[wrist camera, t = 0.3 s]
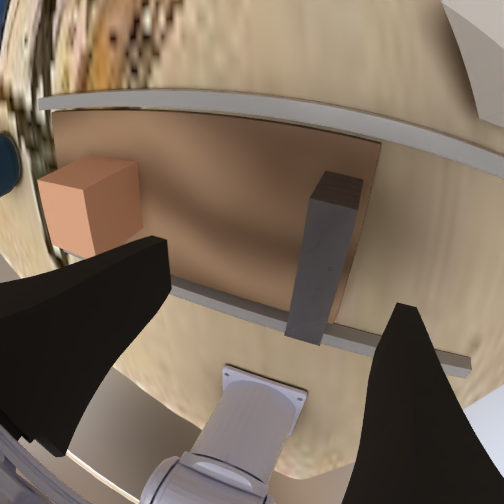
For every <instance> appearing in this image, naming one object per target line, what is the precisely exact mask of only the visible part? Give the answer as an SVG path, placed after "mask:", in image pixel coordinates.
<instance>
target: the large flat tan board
mask: <svg viewBox="0 0 504 504" xmlns="http://www.w3.org/2000/svg"><path fill="white" fill-rule="evenodd" d="M52 124H53V134H54V143H55V151H56V158H57V165H58V169H61V168H63V167H65V166H67V165H69V164H71V163H73V162H76V161H78V160H80V159H82V158H85V157H87V156H95V157H104V158H111V159H119V160H126V161H134V162H138V177H139V189H140V200H141V210H142V220H143V228H142V229H141V230H139V231H138V232H137V233H136V234H134V235H133V236H132V237H130V238H129V239H128V240H126V241H125V242H124V243H123V244H121V245H124V244H127V243H129V242H132V241H135V240H138V239H141V238H144V237H147V236H151V235H153V236H157V237H160V238H164V239H167V243H168V254H169V265H170V274H172V275H175V276H178V277H181V278H184V279H187V280H190V281H193V282H196V283H199V284H202V285H205V286H208V287H211V288H214V289H217V290H220V291H223V292H226V293H229V294H233V295H236V296H239V297H242V298H245V299H249V300H252V301H255V302H258V303H262V304H265V305H268V306H271V307H275V308H278V309H281V310H285V311H288V312H289V315H288V320H287V325H286V330H285V336H288V337H291V338H295V339H298V340H301V341H305V342H308V343H312V344H315V345H319V346H320V343H321V340H322V337H323V334H324V331H325V328H326V324H327V323H330V324H334V321H335V318H336V315H337V312H338V309H339V305H340V302H341V299H342V296H343V293H344V289H345V286H346V283H347V280H348V276H349V273H350V269H351V266H352V262H353V259H354V255H355V252H356V248H357V245H358V241H359V237H360V233H361V230H362V226H363V222H364V218H365V214H366V210H367V206H368V202H369V197H370V193H371V189H372V184H373V180H374V175H375V171H376V166H377V161H378V156H379V151H380V146H381V142H377V141H373V140H368V139H364V138H360V137H356V136H351V135H347V134H342V133H337V132H333V131H328V130H323V129H317V128H312V127H307V126H301V125H295V124H289V123H283V122H276V121H270V120H263V119H255V118H247V117H239V116H230V115H221V114H210V113H198V112H185V111H168V110H141V109H92V110H67V111H55V112H52ZM121 245H120V246H121Z"/></svg>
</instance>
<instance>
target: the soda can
mask: <svg viewBox="0 0 504 504" xmlns="http://www.w3.org/2000/svg"><path fill="white" fill-rule="evenodd" d="M20 173H21V165H20V158H19V154H18V151H17V148H16V146H15V144H14V142H13V140H12V139H11V138H10V137H9V136H6V135H2V134H0V197H2V196H3V195H5V194H7V193H9V192H10V191H11V190H12V189H13V188H14V186H15V184H16V183H17V181H18V180H19V177H20Z"/></svg>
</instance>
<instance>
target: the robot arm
mask: <svg viewBox="0 0 504 504" xmlns="http://www.w3.org/2000/svg"><path fill="white" fill-rule="evenodd" d="M171 290H172V285H171V275H170V265H169V254H168V243H167V239H164V238H160V237H157V236H153V235H151V236H147V237H144V238H141V239H138V240H135V241H132V242H129V243H127V244H124V245H121V246H119V247H116V248H113V249H111V250H108V251H106V252H103V253H101V254H98V255H95V256H93V257H90V258H87V259H85V260H82V261H79V262H76V263H74V264H71V265H68V266H65V267H62V268H59V269H56V270H53V271H50V272H46V273H43V274H39V275H36V276H32V277H28V278H23V279H19V280H13V281H9V282H4V283H0V504H53V503H52V502H51V501H50V500H49V498H50V499H51V500H52V501H53V502H55V503H56V504H92V503H90V502H89V501H88V500H86V499H85V498H83V497H82V496H81V495H79V494H78V493H77V492H75V491H74V490H72V489H71V488H70V487H68V486H67V485H66V484H65V483H64V482H62V481H61V480H60V479H59V478H57V477H56V476H55V475H54V474H53V473H51V472H50V471H49V470H48V469H47V468H46V467H44V466H43V465H42V464H41V463H40V462H39V461H38V460H37V459H35V458H34V457H33V456H32V455H31V454H30V453H29V452H28V451H27V450H26V449H25V448H23V446H22V445H20V444H19V443H18V440H19V438H20V437H21V436H23V438H24V439H26V440H27V441H28V442H29V443H31V442H32V441H33V440H34V439H35V440H36V441H37V442H38V443H40V444H41V445H42V446H43V447H44V448H45V449H46V450H48V451H49V452H50V453H51V454H52V455H54V456H55V457H62V456H65V454H66V452H67V449H68V446H69V444H70V441H71V439H72V437H73V434H74V432H75V430H76V428H77V425H78V424H79V421H80V419H81V417H82V416H83V413H84V412H85V410H86V408H87V406H88V404H89V402H90V400H91V399H92V397H93V395H94V394H95V392H96V390H97V389H98V387H99V385H100V384H101V382H102V381H103V379H104V378H105V376H106V375H107V373H108V371H109V370H110V368H111V367H112V366H113V364H114V363H115V362H116V360H117V359H118V358H119V357H120V355H121V354H122V353H123V352H124V351H125V350H126V348H127V347H128V346H129V345H130V344H131V343H132V341H133V340H134V339H135V338H136V337H137V336H138V334H139V333H140V332H141V331H142V330H143V329H144V327H145V326H146V325H147V324H148V323H149V322H150V320H151V319H152V318H153V317H154V316H155V314H156V313H157V312H158V310H159V309H160V307H161V306H162V304H163V303H164V301H165V300H166V298H167V296H168V295H169V293H170V292H171ZM306 398H307V392H305V391H303V390H300V389H297V388H293V387H290V386H287V385H284V384H281V383H278V382H274V381H271V380H268V379H265V378H262V377H259V376H256V375H253V374H251V373H248V372H245V371H242V370H239V369H236V368H234V367H231V366H228V365H225V366H224V367H223V369H222V397H221V398H220V400H219V402H218V404H217V405H216V407H215V409H214V411H213V413H212V414H211V416H210V418H209V420H208V421H207V423H206V425H205V427H204V428H203V430H202V432H201V434H200V436H199V437H198V439H197V440H196V442H195V444H194V446H193V447H192V449H191V451H190V452H187V451H185V452H184V453H183V455H182V457H181V458H179V457H177V456H173V457H171V458H168V459H165V460H164V461H162V462H161V463H160V464H159V466H158V467H157V468H156V469H155V471H154V472H153V473H152V475H151V476H150V478H149V480H148V482H147V483H146V485H145V488H144V489H143V492H142V495H141V498H140V503H139V504H276V503H275V501H274V497H273V496H272V495H267V492H268V489H269V487H270V486H269V485H267V484H268V482H269V479H270V477H271V475H272V473H273V470H274V468H275V465H276V463H277V460H278V458H279V456H280V453H281V451H282V448H283V445H284V443H285V440H286V438H287V436H291V434H292V431H293V429H294V427H295V424H296V422H297V420H298V417H299V415H300V412H301V410H302V408H303V405H304V403H305V400H306ZM16 468H17V469H18V470H19V471H20V472H21V473H22V474H23V475H25V477H26V478H28V479H29V480H30V481H31V482H32V483H33V484H34V485H35V486H36V487H37V488H38V489H39V490H41V491H42V492H43V493H44V494H45V495H47V496H45V495H44V494H43V493H42V492H40V491H39V490H38V489H37V488H35V487H34V486H32V485H31V484H30V483H29V482H27V481H26V480H25V479H23V478H22V477H21V476H19V475H18V474H17V473H16ZM48 497H49V498H48ZM342 504H504V478H503V476H502V475H501V474H500V472H499V471H498V469H497V468H496V466H495V465H494V463H493V462H492V460H491V459H490V457H489V455H488V454H487V452H486V450H485V449H484V447H483V446H482V444H481V442H480V441H479V439H478V437H477V436H476V434H475V432H474V431H473V429H472V427H471V425H470V423H469V421H468V419H467V417H466V415H465V414H464V412H463V410H462V408H461V406H460V404H459V402H458V400H457V398H456V396H455V394H454V392H453V390H452V388H451V385H450V383H449V381H448V379H447V377H446V375H445V373H444V370H443V368H442V366H441V363H440V361H439V359H438V356H437V354H436V352H435V349H434V347H433V345H432V342H431V340H430V337H429V335H428V333H427V330H426V328H425V325H424V323H423V321H422V318H421V316H420V314H419V312H418V309H417V307H413V306H409V305H405V304H401V303H398V302H397V304H396V306H395V308H394V311H393V313H392V315H391V317H390V320H389V322H388V324H387V326H386V328H385V330H384V333H383V335H382V337H381V339H380V341H379V343H378V345H377V347H376V349H375V352H374V357H373V361H372V366H371V371H370V375H369V380H368V387H367V396H366V404H365V411H364V419H363V426H362V432H361V439H360V445H359V450H358V454H357V458H356V462H355V465H354V469H353V472H352V475H351V478H350V481H349V484H348V487H347V490H346V493H345V496H344V498H343V501H342Z"/></svg>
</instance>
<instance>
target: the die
mask: <svg viewBox="0 0 504 504" xmlns="http://www.w3.org/2000/svg"><path fill="white" fill-rule="evenodd" d="M441 3H442V6H443V8H444V10H445V13H446V15H447V17H448V20H449V22H450V25H451V27H452V30H453V32H454V35H455V38H456V40H457V43H458V46H459V49H460V52H461V55H462V58H463V61H464V64H465V67H466V70H467V73H468V77H469V80H470V84H471V87H472V91H473V95H474V99H475V103H476V107H477V111H478V116H479V119H481V120H484V121H487V122H489V123H492V124H495V125H498V126H500V127H503V128H504V0H442V1H441Z"/></svg>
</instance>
